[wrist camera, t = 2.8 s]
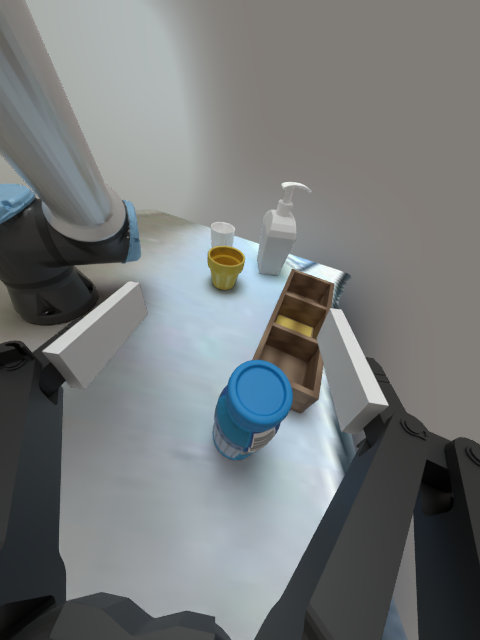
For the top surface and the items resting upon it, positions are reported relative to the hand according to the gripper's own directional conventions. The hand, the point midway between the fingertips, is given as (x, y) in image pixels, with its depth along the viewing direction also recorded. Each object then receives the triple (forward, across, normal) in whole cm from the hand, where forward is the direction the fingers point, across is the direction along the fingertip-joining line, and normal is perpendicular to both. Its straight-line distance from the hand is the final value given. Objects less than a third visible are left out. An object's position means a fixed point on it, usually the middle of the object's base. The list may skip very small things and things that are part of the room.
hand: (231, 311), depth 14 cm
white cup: (+58, -12, -18) cm, 62 cm away
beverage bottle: (+4, +2, -29) cm, 29 cm away
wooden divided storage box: (+27, +12, -26) cm, 39 cm away
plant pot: (+43, -8, -21) cm, 49 cm away
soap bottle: (+57, +6, -20) cm, 60 cm away
